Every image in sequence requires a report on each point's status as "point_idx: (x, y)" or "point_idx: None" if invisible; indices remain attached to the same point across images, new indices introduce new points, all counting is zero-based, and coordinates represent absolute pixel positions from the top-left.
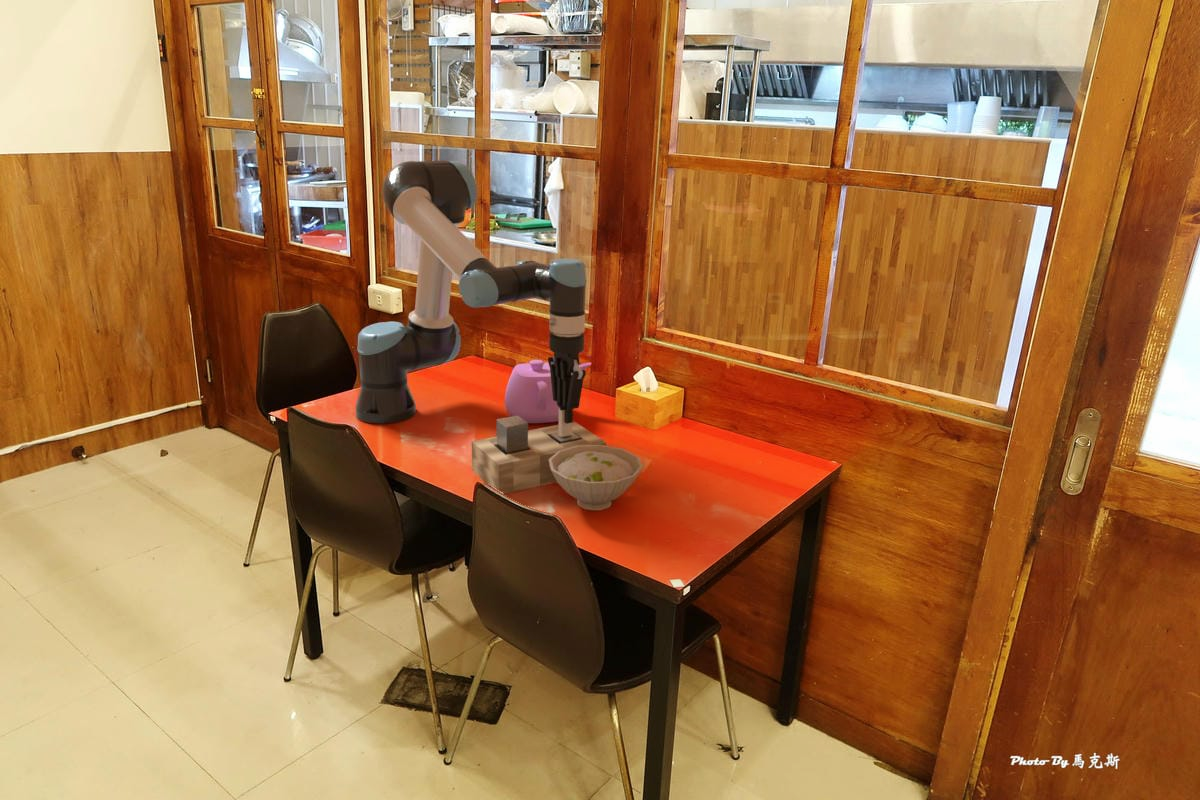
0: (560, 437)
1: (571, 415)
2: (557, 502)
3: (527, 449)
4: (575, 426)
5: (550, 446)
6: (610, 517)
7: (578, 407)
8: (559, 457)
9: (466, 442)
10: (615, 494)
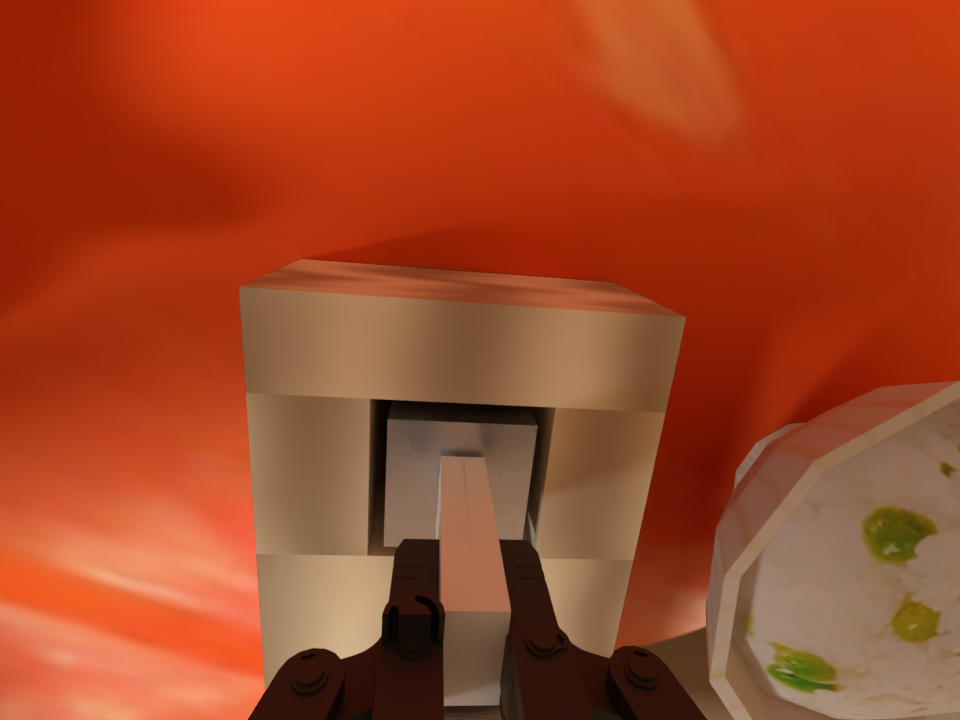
0: None
1: (546, 598)
2: (705, 578)
3: (499, 703)
4: (331, 336)
5: None
6: None
7: (660, 659)
8: (740, 681)
9: (9, 635)
10: None
